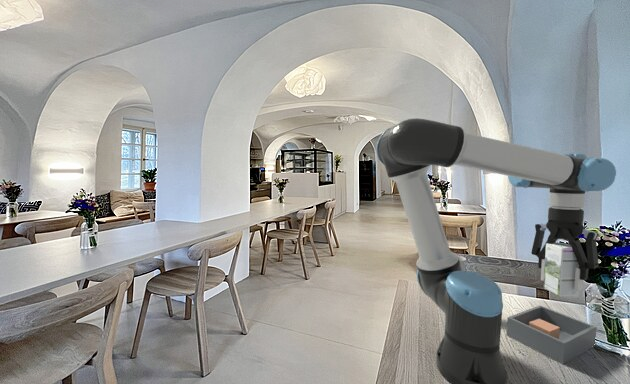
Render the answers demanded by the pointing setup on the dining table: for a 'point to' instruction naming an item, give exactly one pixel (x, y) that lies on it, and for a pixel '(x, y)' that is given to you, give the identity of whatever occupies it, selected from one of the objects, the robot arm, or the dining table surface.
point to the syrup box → (560, 270)
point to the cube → (545, 327)
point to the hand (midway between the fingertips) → (560, 284)
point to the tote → (568, 346)
